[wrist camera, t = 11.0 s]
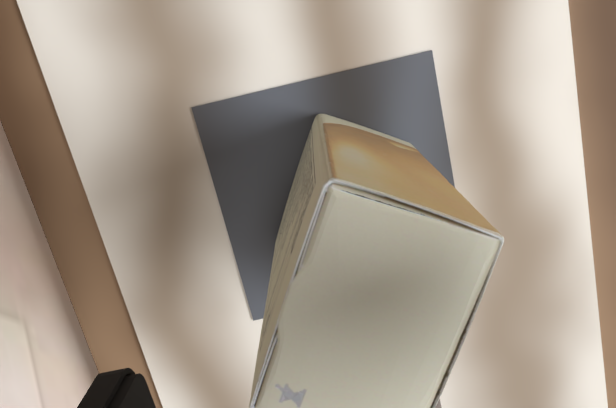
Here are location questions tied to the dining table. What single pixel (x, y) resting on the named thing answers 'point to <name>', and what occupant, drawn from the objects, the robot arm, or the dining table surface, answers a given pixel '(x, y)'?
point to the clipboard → (285, 159)
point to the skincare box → (369, 277)
